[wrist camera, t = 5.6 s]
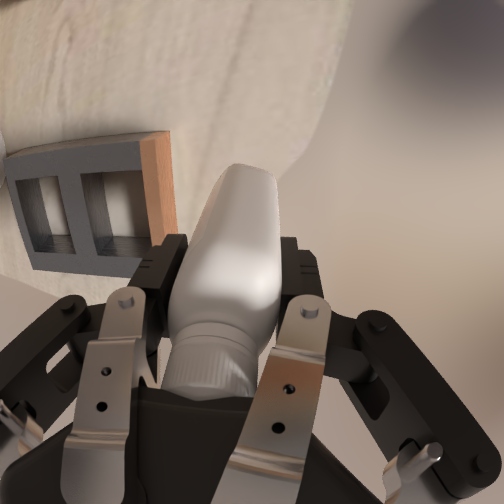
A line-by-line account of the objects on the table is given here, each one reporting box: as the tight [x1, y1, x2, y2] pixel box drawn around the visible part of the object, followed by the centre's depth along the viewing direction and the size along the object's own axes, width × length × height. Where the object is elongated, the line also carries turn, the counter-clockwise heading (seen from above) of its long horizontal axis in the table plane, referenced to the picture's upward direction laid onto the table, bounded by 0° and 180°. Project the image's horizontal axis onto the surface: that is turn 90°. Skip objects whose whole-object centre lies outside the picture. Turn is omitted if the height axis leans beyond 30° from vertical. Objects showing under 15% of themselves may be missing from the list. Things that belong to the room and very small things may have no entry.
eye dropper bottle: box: [160, 164, 282, 401], centre depth 11 cm, size 4×6×12 cm
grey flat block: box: [3, 131, 178, 278], centre depth 25 cm, size 12×16×4 cm
